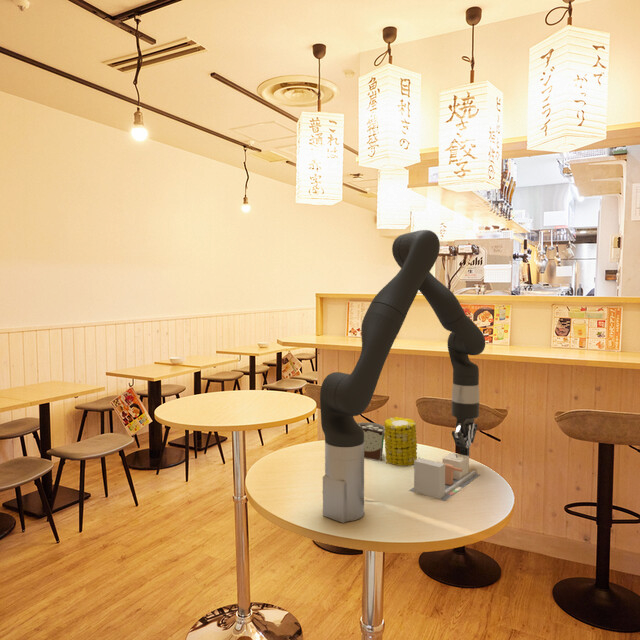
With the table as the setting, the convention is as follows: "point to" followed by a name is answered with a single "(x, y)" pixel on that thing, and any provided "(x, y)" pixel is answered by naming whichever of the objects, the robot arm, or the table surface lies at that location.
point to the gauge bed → (437, 480)
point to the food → (400, 441)
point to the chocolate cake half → (373, 440)
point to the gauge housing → (458, 464)
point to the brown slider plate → (450, 473)
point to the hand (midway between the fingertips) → (464, 459)
